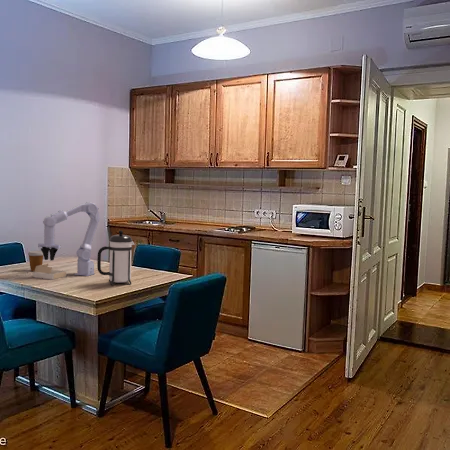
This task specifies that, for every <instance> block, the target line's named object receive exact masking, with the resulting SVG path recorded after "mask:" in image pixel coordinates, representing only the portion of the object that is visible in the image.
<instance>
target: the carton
mask: <svg viewBox="0 0 450 450" xmlns="http://www.w3.org/2000/svg"><path fill="white" fill-rule="evenodd" d="M65 277H67V271H66V270H58V269H52V270H51V273H42V272H36V271H35V272H34V271H32V278H36V279H42V278H43V280H50V281H51V280H54V281H55V280H58V279H61V278H65Z"/></svg>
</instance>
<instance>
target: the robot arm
mask: <svg viewBox="0 0 450 450" xmlns="http://www.w3.org/2000/svg"><path fill="white" fill-rule="evenodd" d="M80 212H81V213H82V212H83V213H86V214H87V215H88V217H89V219H90V220H89V223H88V226H87V228H86V231H85V234H84V238H83V241H82V243H81V244H80V247H79V248H78V249H77V251H76V257H77V262H76V263H77V266H76V267H77V269H76V270H77V272H76V273H74V274H73V275H74V276H83V277H84V276H86V277H88V276H93V275H96V274H95V262H94V261H93V260H91V256H92V245H93V242H94V238H95V234H96V232H97V229H98V226H99V222H100V220H101V217H100V212H99V206H98V205H97V204H96V203H94V202H90V201H89V202H87V201H86V202H84V203H81V204H78V205H77V206H75V207H72V208H70V209H69V210H66V211H65V210H58V211H57V213H54V214H53V213H52V214H50V215H49V216H46V217H44V218H43V220H42V224H43V225H44V226H43V227H44V228H43V234H44V235H43V238H44V239H43V243H38V244H37V247H38V248H40V251H42V253H43V260H44V261H47V260H50V261H52V262H53V261H54V260H55V257H56V254H57V252H58V250H60V249H61V248H62V246H61V245H60V244H56V243H55V239H56V238H55V237H56V235H55V230H56V229H55V226H56V225H57V224H60V223H61V222H63V221H66V220H67V219H68V217H70V216H72V215H75V214H77V213H80Z"/></svg>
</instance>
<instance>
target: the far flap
mask: <svg viewBox="0 0 450 450" xmlns="http://www.w3.org/2000/svg"><path fill="white" fill-rule="evenodd" d="M39 266H43V267H49V263H43V264H42V265H39ZM37 267H38V266H36V268H35V271H33V272H36V271H37Z"/></svg>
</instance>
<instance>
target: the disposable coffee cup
mask: <svg viewBox="0 0 450 450" xmlns="http://www.w3.org/2000/svg"><path fill="white" fill-rule="evenodd" d="M27 254H28V259H29V267H30V271H31V272H34V271H35V268H36V266H39V265H43V264H44V263H43V261H44V255H43V253H42V251H41V250H30V251H28V253H27ZM35 272H36V271H35Z"/></svg>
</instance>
